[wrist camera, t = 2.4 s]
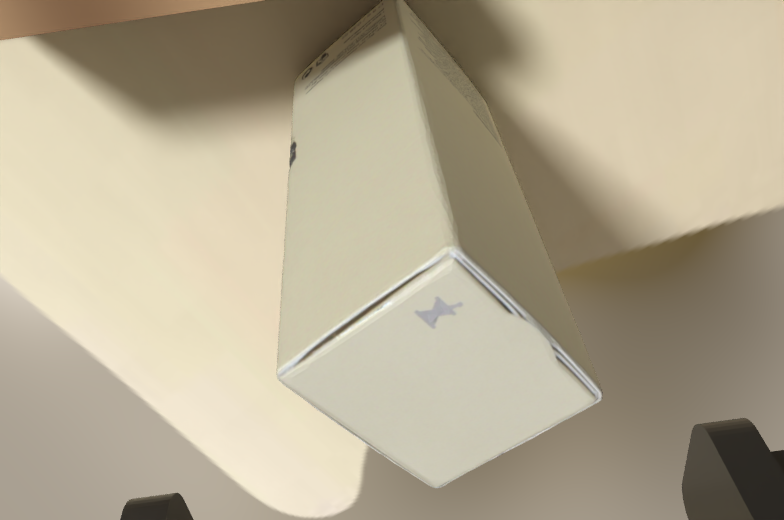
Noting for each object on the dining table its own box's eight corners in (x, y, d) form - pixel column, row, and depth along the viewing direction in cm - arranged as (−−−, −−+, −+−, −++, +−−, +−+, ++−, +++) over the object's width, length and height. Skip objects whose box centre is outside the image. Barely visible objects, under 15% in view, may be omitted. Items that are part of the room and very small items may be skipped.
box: (289, 76, 23) (249, 373, 13) (397, -17, 22) (449, 235, 11) (396, 185, 26) (433, 503, 15) (499, 108, 24) (616, 405, 14)
